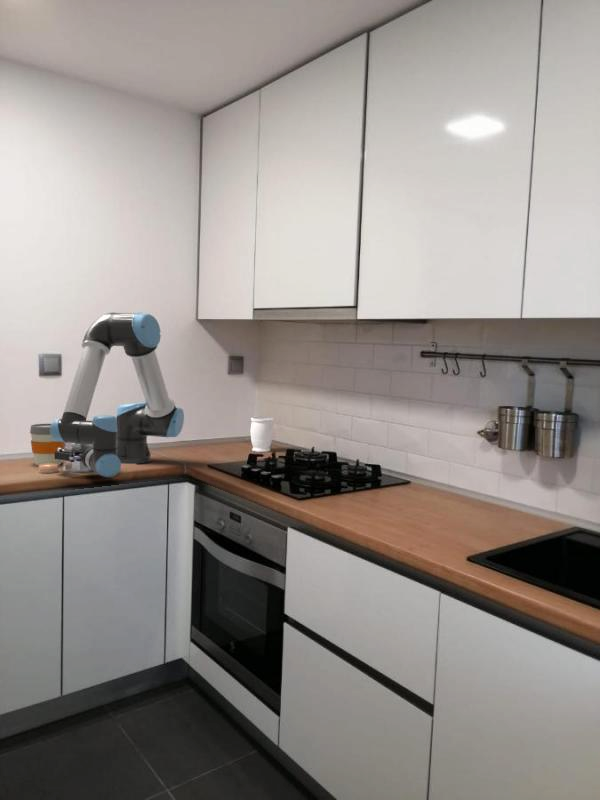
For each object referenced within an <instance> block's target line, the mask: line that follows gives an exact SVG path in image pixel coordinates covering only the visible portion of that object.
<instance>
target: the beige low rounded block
mask: <svg viewBox="0 0 600 800" xmlns="http://www.w3.org/2000/svg"><path fill="white" fill-rule="evenodd" d="M58 472H59V465H58V464H54V463H46V464H40V465H39V466H38V473H39V474H56V473H58Z"/></svg>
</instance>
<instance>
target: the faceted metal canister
mask: <svg viewBox="0 0 600 800" xmlns="http://www.w3.org/2000/svg"><path fill="white" fill-rule="evenodd" d="M90 447H93V444H84V443H65V442H63V450H65V451H68V452H77V451H85V450H86V449H88V448H90ZM80 454H81V453H80ZM62 461H63V464H62V465H63V466H62V467H63V469H62V470H63V471H65V472H66V471H68V472H88V473H90V472H89V471H93V470H91V469H89V468H87V467H86V466H84V464H83V463H82V462H81V461H76V460H75V461H74V462H70V461H65V460H62ZM68 472H67V473H68Z"/></svg>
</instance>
